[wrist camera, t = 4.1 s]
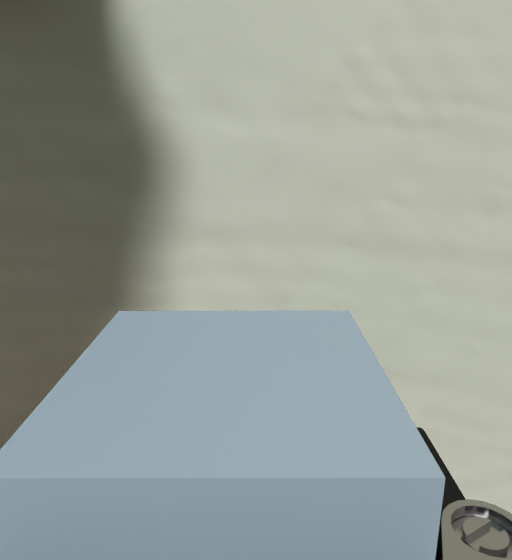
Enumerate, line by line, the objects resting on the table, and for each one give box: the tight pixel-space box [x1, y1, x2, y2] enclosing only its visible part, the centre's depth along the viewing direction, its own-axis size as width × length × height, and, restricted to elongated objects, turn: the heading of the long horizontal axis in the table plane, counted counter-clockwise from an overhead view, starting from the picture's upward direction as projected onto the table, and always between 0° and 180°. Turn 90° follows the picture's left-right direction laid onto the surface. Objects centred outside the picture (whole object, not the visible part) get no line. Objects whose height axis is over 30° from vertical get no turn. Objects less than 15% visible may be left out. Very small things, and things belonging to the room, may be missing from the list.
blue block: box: [0, 311, 445, 560], centre depth 9 cm, size 6×6×6 cm
